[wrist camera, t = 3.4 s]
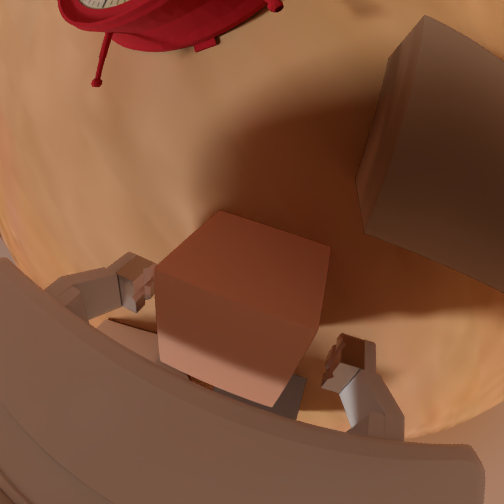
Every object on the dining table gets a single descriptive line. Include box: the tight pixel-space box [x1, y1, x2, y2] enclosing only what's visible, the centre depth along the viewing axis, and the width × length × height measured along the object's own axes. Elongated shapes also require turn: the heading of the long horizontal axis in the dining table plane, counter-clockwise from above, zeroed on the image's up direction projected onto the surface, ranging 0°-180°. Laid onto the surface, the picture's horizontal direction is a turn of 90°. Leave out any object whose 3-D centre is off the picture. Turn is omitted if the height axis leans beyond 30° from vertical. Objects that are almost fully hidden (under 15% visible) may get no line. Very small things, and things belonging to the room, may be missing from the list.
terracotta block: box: [154, 211, 331, 407], centre depth 11 cm, size 5×5×5 cm
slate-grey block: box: [212, 374, 307, 420], centre depth 15 cm, size 5×5×5 cm
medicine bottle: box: [96, 320, 189, 380], centre depth 15 cm, size 7×7×12 cm
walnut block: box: [355, 15, 504, 293], centre depth 6 cm, size 5×5×5 cm
